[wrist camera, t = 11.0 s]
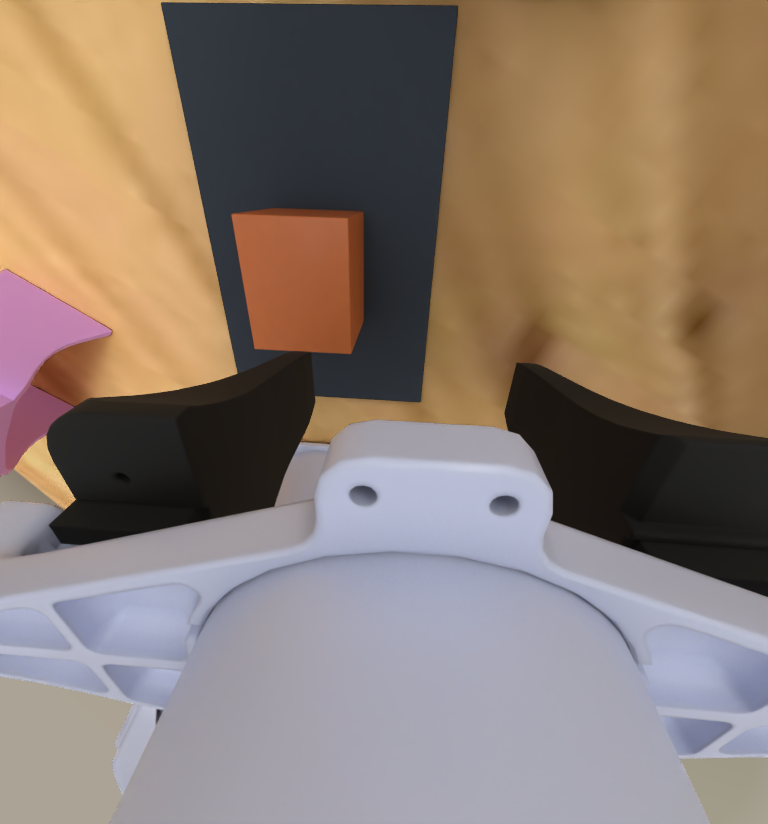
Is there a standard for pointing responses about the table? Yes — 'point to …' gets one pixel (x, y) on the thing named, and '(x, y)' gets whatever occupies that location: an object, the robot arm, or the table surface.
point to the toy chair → (32, 361)
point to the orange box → (302, 277)
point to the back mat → (325, 156)
